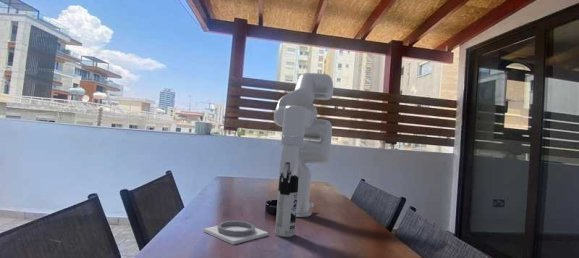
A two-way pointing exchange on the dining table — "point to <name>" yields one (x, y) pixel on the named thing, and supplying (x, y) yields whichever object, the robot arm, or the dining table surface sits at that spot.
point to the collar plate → (235, 239)
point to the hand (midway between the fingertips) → (287, 192)
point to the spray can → (287, 210)
